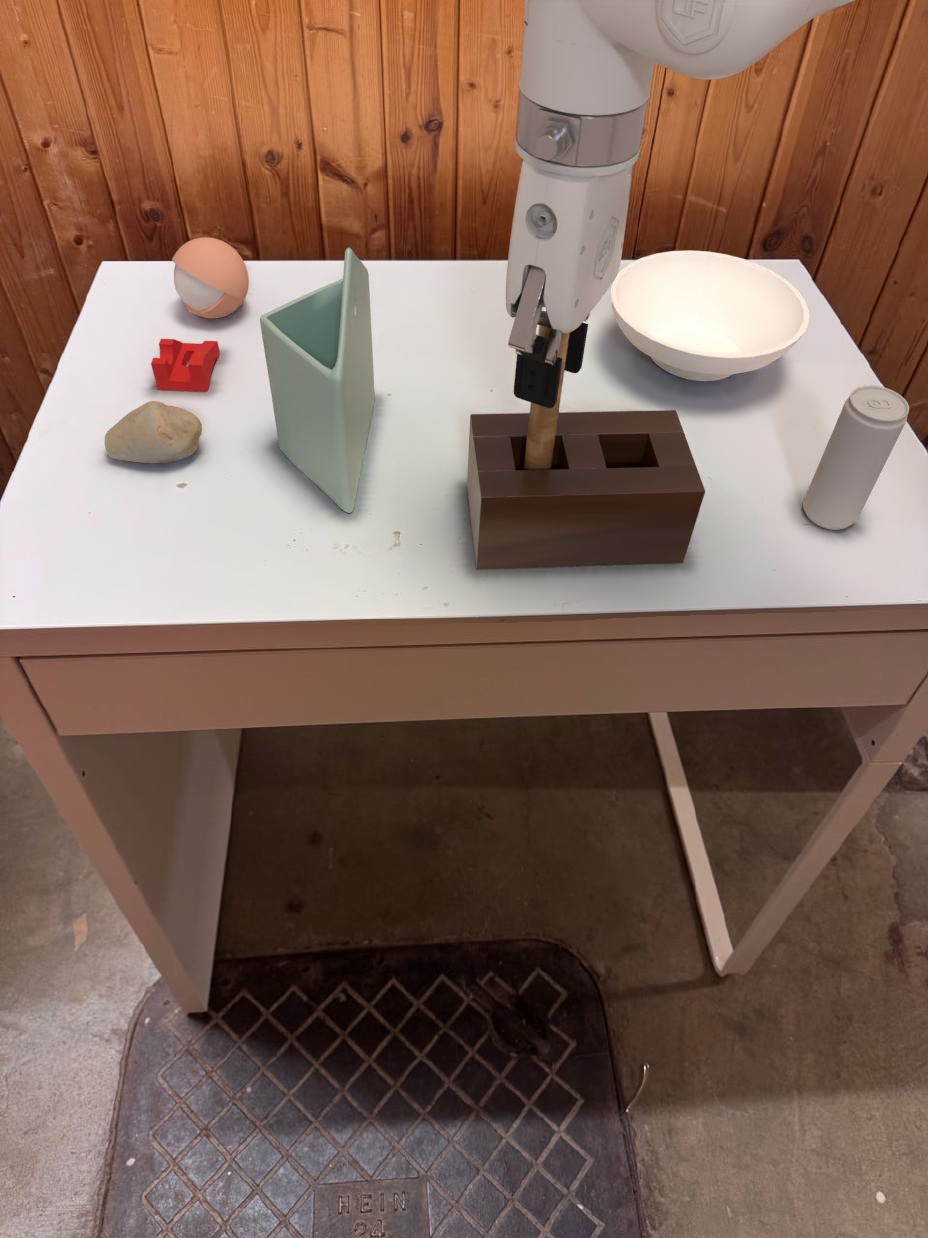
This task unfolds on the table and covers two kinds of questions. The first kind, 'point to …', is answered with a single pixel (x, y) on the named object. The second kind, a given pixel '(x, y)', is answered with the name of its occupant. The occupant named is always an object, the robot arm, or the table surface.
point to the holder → (583, 491)
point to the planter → (324, 380)
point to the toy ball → (210, 277)
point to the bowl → (707, 313)
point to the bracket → (184, 365)
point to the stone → (154, 434)
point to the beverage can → (855, 456)
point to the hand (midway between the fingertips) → (547, 381)
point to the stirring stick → (544, 419)
